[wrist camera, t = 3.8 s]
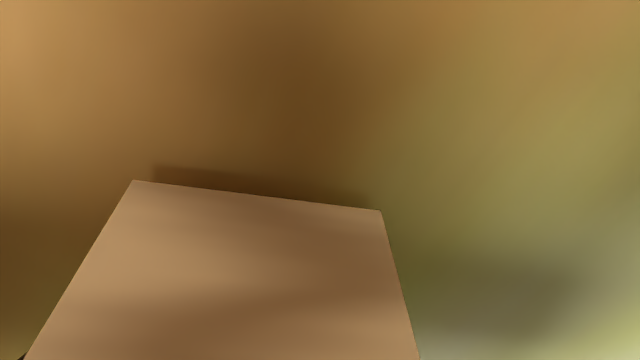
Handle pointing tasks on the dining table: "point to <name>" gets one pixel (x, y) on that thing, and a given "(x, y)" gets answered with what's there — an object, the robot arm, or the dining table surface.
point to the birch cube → (231, 283)
